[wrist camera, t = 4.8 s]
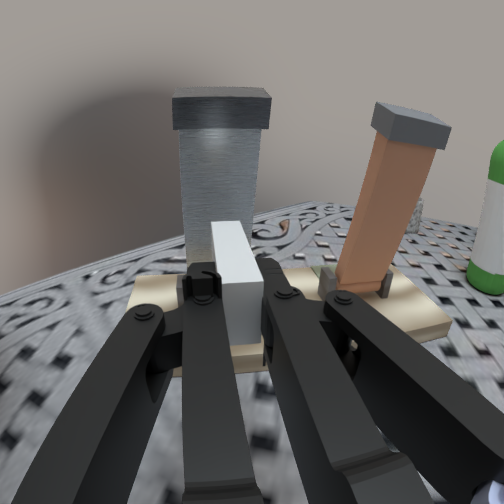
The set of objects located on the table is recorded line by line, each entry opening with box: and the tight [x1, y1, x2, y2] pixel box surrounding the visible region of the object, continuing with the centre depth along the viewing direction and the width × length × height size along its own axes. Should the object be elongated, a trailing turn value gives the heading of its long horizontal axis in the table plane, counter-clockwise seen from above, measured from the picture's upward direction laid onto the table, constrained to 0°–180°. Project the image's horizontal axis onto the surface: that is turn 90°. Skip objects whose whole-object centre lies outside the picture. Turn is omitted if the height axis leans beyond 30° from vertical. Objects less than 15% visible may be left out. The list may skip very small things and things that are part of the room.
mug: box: [405, 197, 424, 234], centre depth 59 cm, size 10×7×7 cm
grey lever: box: [172, 87, 272, 268], centre depth 23 cm, size 3×6×19 cm, turn 99°
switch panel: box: [125, 264, 453, 377], centre depth 30 cm, size 14×32×5 cm, turn 99°
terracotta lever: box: [335, 102, 451, 293], centre depth 25 cm, size 3×6×19 cm, turn 99°
